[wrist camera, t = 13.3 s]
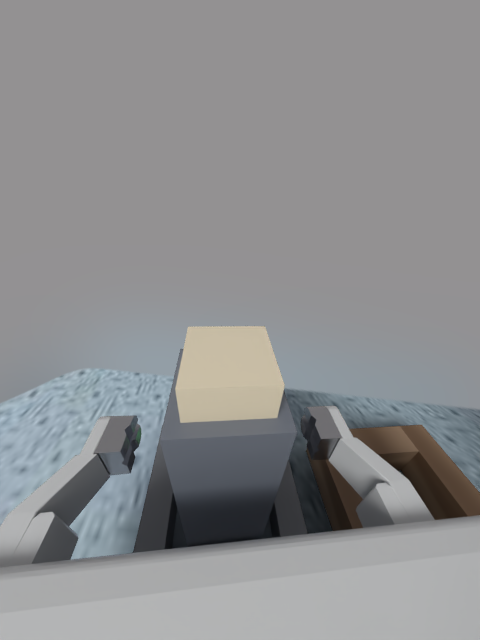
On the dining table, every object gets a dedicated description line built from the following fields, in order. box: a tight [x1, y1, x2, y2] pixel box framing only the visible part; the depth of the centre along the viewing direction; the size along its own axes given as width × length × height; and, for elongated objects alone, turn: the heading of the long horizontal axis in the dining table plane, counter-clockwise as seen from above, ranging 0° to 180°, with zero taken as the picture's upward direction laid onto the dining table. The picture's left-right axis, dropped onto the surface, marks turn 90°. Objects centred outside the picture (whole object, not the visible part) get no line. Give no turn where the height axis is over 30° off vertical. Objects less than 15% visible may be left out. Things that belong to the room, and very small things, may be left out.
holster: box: [306, 425, 480, 531], centre depth 14 cm, size 9×9×3 cm
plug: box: [160, 326, 297, 547], centre depth 11 cm, size 4×4×14 cm
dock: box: [133, 425, 308, 553], centre depth 14 cm, size 10×10×4 cm
